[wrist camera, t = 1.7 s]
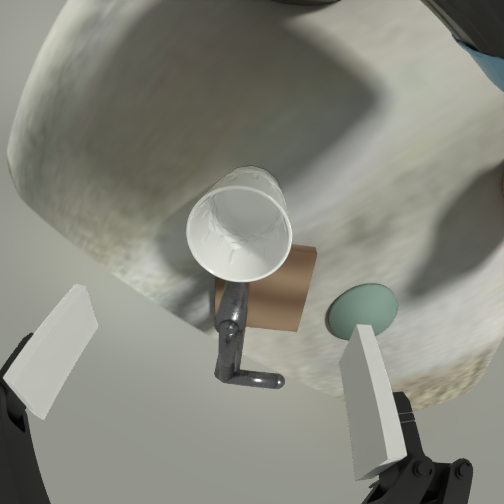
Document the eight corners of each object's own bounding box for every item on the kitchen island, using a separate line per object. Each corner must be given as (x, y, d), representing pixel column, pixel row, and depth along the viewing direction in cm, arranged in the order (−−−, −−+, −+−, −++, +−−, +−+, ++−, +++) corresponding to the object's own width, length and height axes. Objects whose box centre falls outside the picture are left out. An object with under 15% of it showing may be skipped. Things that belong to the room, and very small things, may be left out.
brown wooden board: (219, 235, 32) (216, 241, 30) (315, 247, 31) (317, 253, 30) (216, 314, 38) (214, 322, 36) (296, 324, 37) (296, 331, 36)
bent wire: (232, 250, 31) (212, 320, 21) (296, 257, 31) (303, 331, 21) (228, 314, 35) (213, 386, 25) (282, 320, 35) (282, 394, 25)
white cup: (241, 242, 32) (228, 297, 23) (198, 188, 29) (165, 225, 20) (301, 206, 29) (312, 252, 20) (258, 145, 26) (250, 163, 18)
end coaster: (339, 279, 33) (340, 282, 33) (406, 286, 33) (408, 289, 32) (320, 336, 38) (321, 339, 38) (381, 339, 38) (382, 341, 37)
